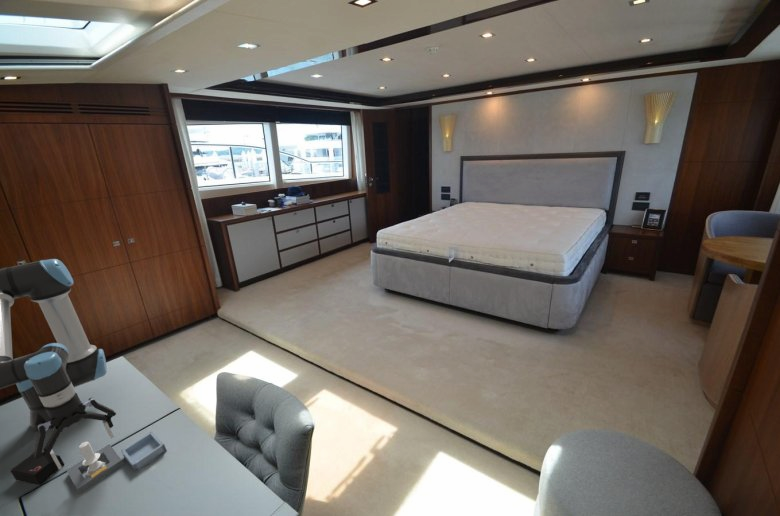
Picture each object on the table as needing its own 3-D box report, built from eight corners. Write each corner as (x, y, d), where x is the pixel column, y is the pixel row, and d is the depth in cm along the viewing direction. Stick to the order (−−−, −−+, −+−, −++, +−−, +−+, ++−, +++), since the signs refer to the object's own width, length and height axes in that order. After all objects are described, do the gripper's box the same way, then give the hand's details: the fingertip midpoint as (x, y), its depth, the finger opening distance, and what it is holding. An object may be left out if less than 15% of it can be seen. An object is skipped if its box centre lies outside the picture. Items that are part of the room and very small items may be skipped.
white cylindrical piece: (87, 479, 111) (73, 453, 107) (85, 470, 115) (71, 444, 111) (107, 468, 115) (94, 442, 111) (104, 459, 118) (92, 433, 114)
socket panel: (68, 474, 114) (66, 469, 113) (111, 448, 123) (109, 443, 122) (79, 493, 107) (76, 488, 106) (123, 464, 116) (121, 459, 115)
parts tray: (124, 456, 119) (121, 450, 118) (154, 437, 126) (151, 431, 125) (135, 472, 113) (132, 465, 112) (166, 450, 120) (164, 444, 119)
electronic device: (42, 461, 120) (36, 450, 118) (65, 465, 117) (59, 454, 116) (16, 481, 113) (9, 470, 111) (40, 486, 111) (34, 475, 109)
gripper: (4, 433, 93) (37, 487, 100) (113, 380, 112) (134, 429, 119) (0, 422, 97) (32, 475, 104) (105, 372, 116) (126, 420, 123)
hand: (86, 450), depth 111 cm, fingers open, 13 cm apart
